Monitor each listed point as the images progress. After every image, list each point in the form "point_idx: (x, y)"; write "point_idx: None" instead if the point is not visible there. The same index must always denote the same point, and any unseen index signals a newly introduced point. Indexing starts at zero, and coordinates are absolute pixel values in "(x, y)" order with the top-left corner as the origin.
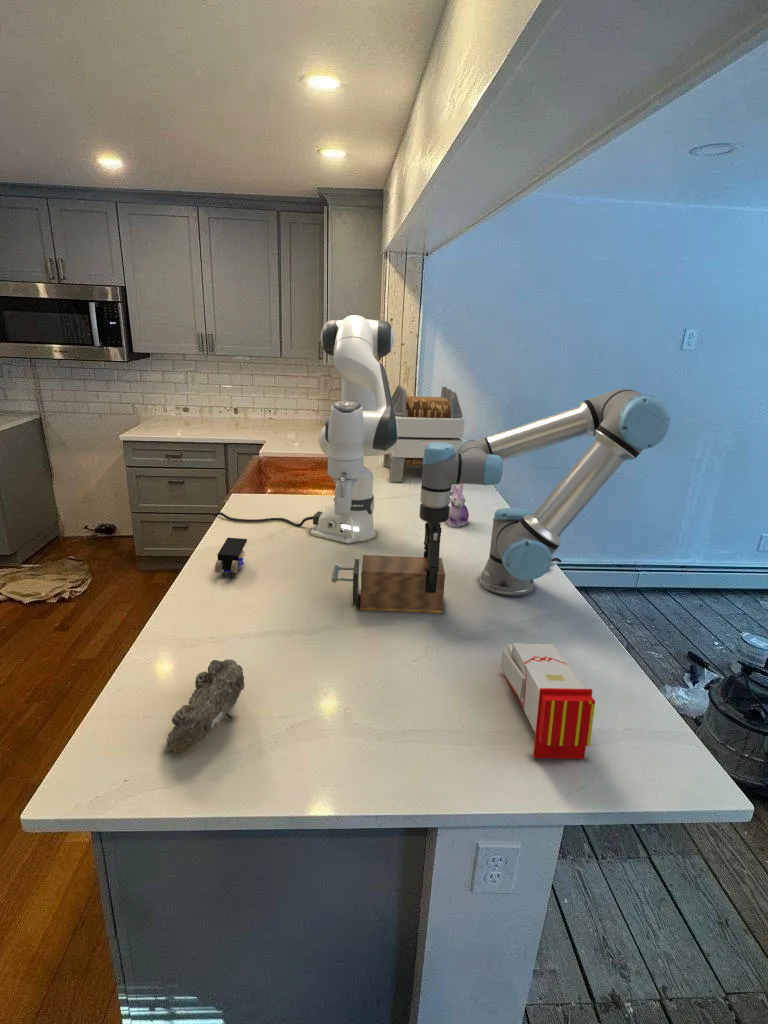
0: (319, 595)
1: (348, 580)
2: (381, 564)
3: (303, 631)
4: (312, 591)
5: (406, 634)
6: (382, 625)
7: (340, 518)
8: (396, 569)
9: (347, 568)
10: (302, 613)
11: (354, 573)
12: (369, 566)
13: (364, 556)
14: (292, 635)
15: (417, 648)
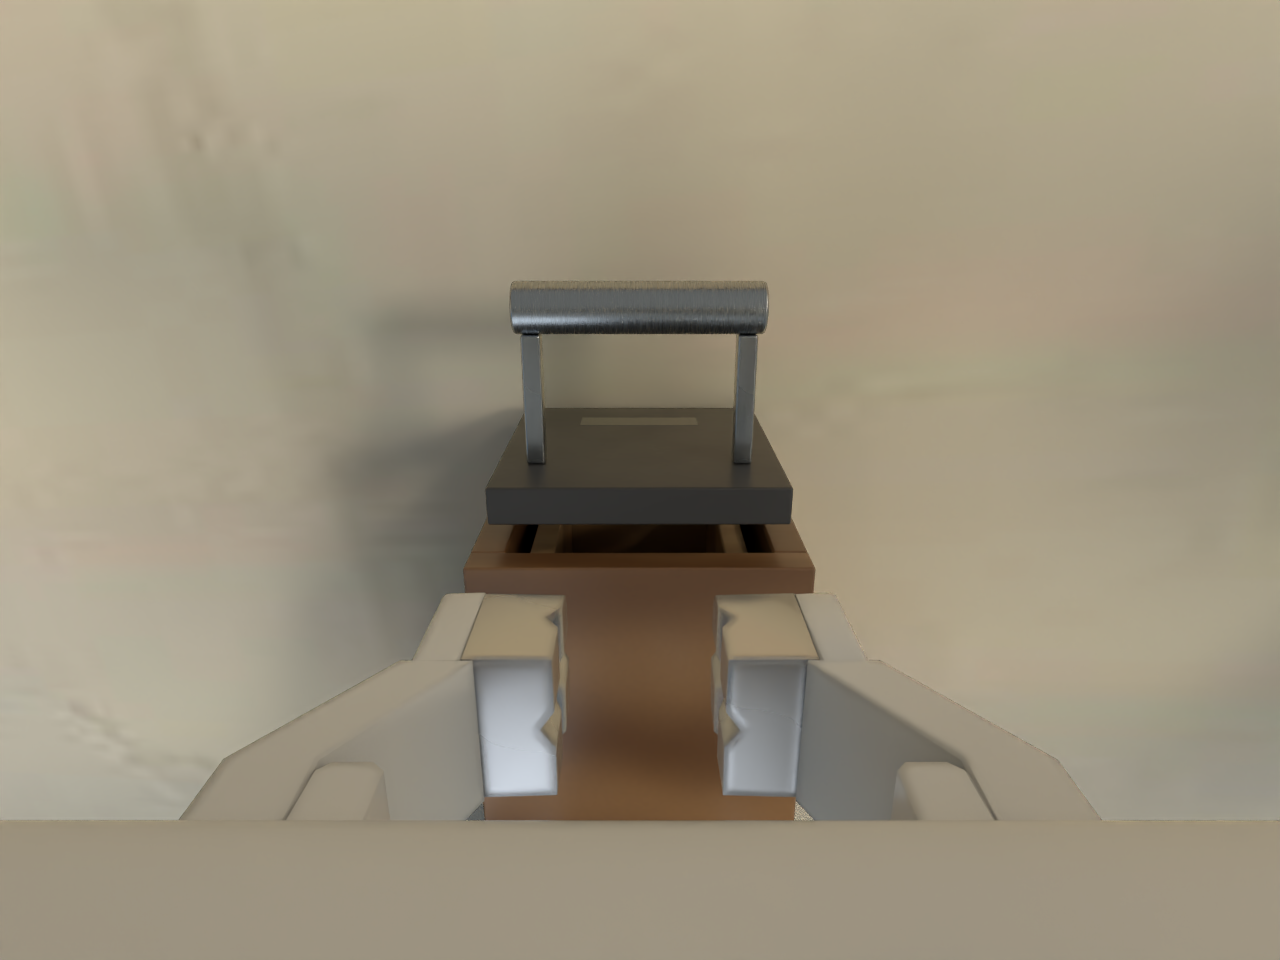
0: (689, 158)
1: (525, 425)
2: (621, 715)
3: (186, 103)
4: (749, 94)
5: (300, 685)
6: (364, 574)
7: (424, 636)
8: (541, 814)
9: (734, 406)
10: (415, 60)
11: (488, 498)
12: (569, 628)
13: (778, 582)
14: (118, 30)
15: (186, 726)
